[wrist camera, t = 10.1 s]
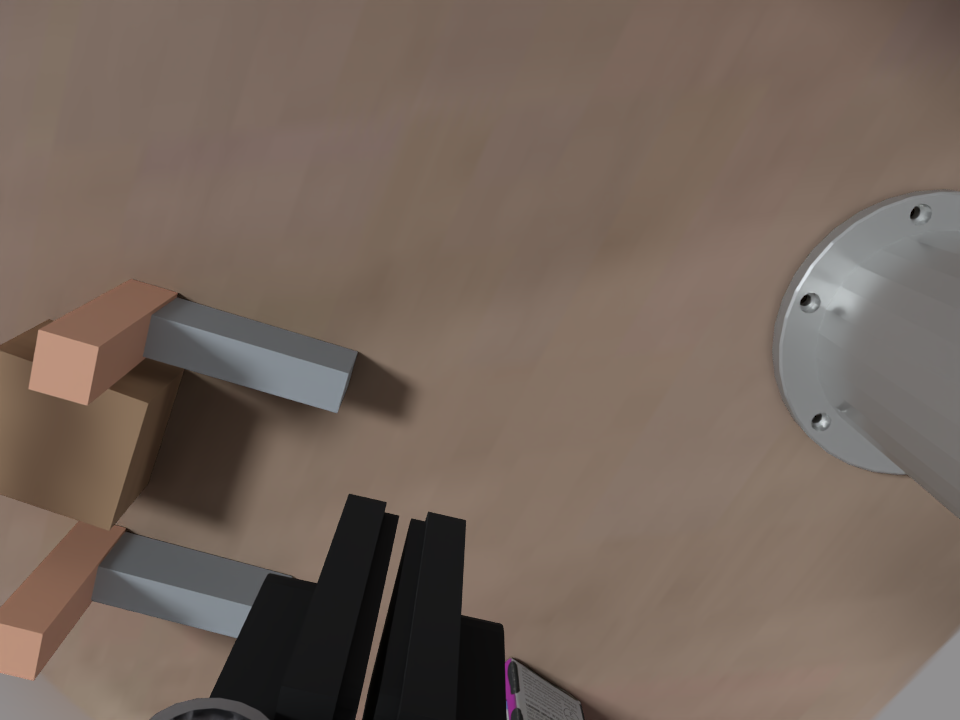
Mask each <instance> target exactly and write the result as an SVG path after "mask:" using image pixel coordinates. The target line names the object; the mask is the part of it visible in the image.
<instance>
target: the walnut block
mask: <svg viewBox="0 0 960 720" xmlns="http://www.w3.org/2000/svg"><path fill="white" fill-rule="evenodd" d="M51 322H53V321H52V320H47V321H45V322H43V323H41V324H39V325H37V326H36V327H34V328H32V329H30V330H28V331H26V332H24V333H22V334H20V335H19V336H17V337H15V338H13V339H11V340H9V341H7V342H5V343H4V344H2V345H0V495H3V496H6V497H9V498H12V499H15V500H18V501H21V502H24V503H27V504H30V505H33V506H36V507H39V508H42V509H45V510H48V511H51V512H54V513H57V514H60V515H63V516H66V517H69V518H72V519H75V520H78V521H81V522H84V523H87V524H90V525H93V526H96V527H99V528H102V529H105V530H108V531H110V530H111V528H112V527H113V526H114V525H115V523H116V522H117V521H118V520H119V519H120V517H121V516H122V515H123V514H124V513H125V511H126V510H127V509H128V508H129V506H130V505H131V504H132V503H133V502H134V500H135V499H136V498H137V497H138V496H139V494H140V493H141V492H142V491H143V489H144V488H145V487H146V486H147V485H148V483H149V480H150V477H151V474H152V470H153V467H154V464H155V461H156V458H157V455H158V451H159V448H160V445H161V442H162V439H163V435H164V432H165V429H166V426H167V423H168V420H169V416H170V413H171V410H172V407H173V404H174V401H175V397H176V394H177V391H178V388H179V385H180V382H181V378H182V375H183V372H184V368H180V367H177V366H173V365H170V364H166V363H163V362H160V361H156V360H153V359H149V358H145V359H144V360H143V361H141V362H140V363H139V364H138V365H136V366H135V367H134V368H133V369H132V370H130V371H129V372H128V373H127V374H126V375H124V376H123V377H122V378H121V379H119V380H118V381H117V382H116V383H115V384H113V385H112V386H111V387H110V388H108V389H107V390H106V391H105V392H104V393H102V394H101V395H100V396H99V397H97V398H96V399H95V400H94V401H93V402H91V403H90V404H89V405H88V406H87V405H83V404H79V403H76V402H72V401H69V400H65V399H62V398H58V397H55V396H51V395H48V394H44V393H41V392H37V391H33V390H30V389H28V388H29V382H30V376H31V371H32V365H33V359H34V353H35V347H36V341H37V336H38V330H39V329H40V328H42V327H44V326H46V325H48V324H50V323H51Z"/></svg>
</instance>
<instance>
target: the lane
mask: <svg viewBox="0 0 960 720" xmlns="http://www.w3.org/2000/svg"><path fill="white" fill-rule="evenodd" d="M177 295H178V293H176V292H173V291H170V290H167V289H163V288H160V287H157V286H153V285H150V284H147V283H143V282H140V281H137V280H133V279H130V280H128V281H126V282H125V283H123V284H121V285H119V286H117V287H115V288H114V289H112V290H110V291H108V292H106V293H104V294H103V295H101V296H99V297H97V298H95V299H93V300H92V301H90V302H88V303H86V304H84V305H82V306H81V307H79V308H77V309H75V310H73V311H72V312H70V313H68V314H66V315H64V316H62V317H61V318H59V319H57V320H55V321H53V322H51V323H50V324H48V325H46V326H44V327H42V328H40V329H39V330H38V336H37V341H36V347H35V353H34V359H33V365H32V371H31V376H30V382H29V388H28V389H30V390H33V391H37V392H41V393H44V394H48V395H51V396H55V397H58V398H62V399H65V400H69V401H72V402H76V403H79V404H83V405H87V406H88V405H89V404H90V403H91V402H93V401H94V400H95V399H96V398H97V397H99V396H100V395H101V394H102V393H104V392H105V391H106V390H107V389H108V388H110V387H111V386H112V385H113V384H115V383H116V382H117V381H118V380H119V379H121V378H122V377H123V376H124V375H126V374H127V373H128V372H129V371H130V370H132V369H133V368H134V367H135V366H136V365H138V364H139V363H140V362H141V361H143V360H144V359H145V358H149V359H153V360H156V361H160V362H163V363H166V364H170V365H173V366H177V367H180V368H184V369H187V370H191V371H194V372H197V373H201V374H204V375H208V376H211V377H215V378H218V379H221V380H225V381H228V382H232V383H235V384H239V385H242V386H245V387H249V388H252V389H256V390H259V391H263V392H266V393H270V394H273V395H276V396H280V397H283V398H287V399H290V400H294V401H297V402H300V403H304V404H307V405H311V406H314V407H318V408H321V409H325V410H328V411H331V412H335V413H337V412H338V410H339V407H340V405H341V403H342V400H343V398H344V395H345V393H346V390H347V387H348V384H349V380H350V377H351V374H352V370H353V367H354V363H355V360H356V357H357V353H358V352H357V351H354V350H351V349H347V348H344V347H341V346H337V345H334V344H331V343H328V342H324V341H321V340H318V339H314V338H311V337H308V336H304V335H301V334H298V333H294V332H291V331H288V330H284V329H281V328H278V327H274V326H271V325H268V324H264V323H261V322H258V321H254V320H251V319H248V318H244V317H241V316H238V315H234V314H231V313H228V312H224V311H221V310H218V309H214V308H211V307H208V306H204V305H201V304H198V303H194V302H191V301H188V300H184V299H181V298H178V297H177ZM125 530H126V528H124V527H120V526H117V525H114V526H113V527H112V528H111V530H110V531H108V530H105V529H102V528H99V527H96V526H93V525H90V524H87V523H84V522H81V521H79V522H78V523H77V524H76V525H75V526H74V527H73V528H72V529H71V530H70V531H69V533H68V534H67V535H66V536H65V537H64V538H63V539H62V540H61V541H60V542H59V544H58V545H57V546H56V547H55V548H54V549H53V550H52V551H51V552H50V553H49V555H48V556H47V557H46V558H45V559H44V560H43V561H42V562H41V563H40V564H39V566H38V567H37V568H36V569H35V570H34V571H33V572H32V573H31V574H30V575H29V577H28V578H27V579H26V580H25V581H24V582H23V583H22V584H21V585H20V587H19V588H18V589H17V590H16V591H15V592H14V593H13V594H12V595H11V596H10V598H9V599H8V600H7V601H6V602H5V603H4V604H3V605H2V606H1V607H0V673H4V674H8V675H12V676H16V677H20V678H24V679H28V680H33V681H34V680H35V678H36V677H37V676H38V674H39V673H40V672H41V670H42V669H43V668H44V666H45V665H46V663H47V662H48V661H49V659H50V658H51V657H52V655H53V654H54V653H55V651H56V650H57V649H58V647H59V646H60V644H61V643H62V642H63V640H64V639H65V638H66V636H67V635H68V634H69V632H70V631H71V630H72V628H73V627H74V626H75V624H76V623H77V621H78V620H79V619H80V617H81V616H82V615H83V613H84V612H85V611H86V609H87V608H88V607H89V605H90V604H91V602H92V601H94V602H98V603H102V604H106V605H110V606H114V607H118V608H122V609H125V610H129V611H133V612H137V613H141V614H145V615H149V616H153V617H157V618H161V619H164V620H168V621H172V622H176V623H180V624H184V625H188V626H192V627H196V628H200V629H203V630H207V631H211V632H215V633H219V634H223V635H227V636H231V637H235V638H237V637H238V635H239V633H240V631H241V629H242V627H243V625H244V622H245V620H246V618H247V616H248V614H249V612H250V610H251V607H252V605H253V603H254V601H255V599H256V597H257V595H258V592H259V590H260V588H261V586H262V584H263V582H264V580H265V578H266V576H267V574H269V573H272V574H277V575H281V576H286V577H290V578H292V576H290V575H286V574H282V573H278V572H275V571H271V570H267V569H263V568H260V567H256V566H252V565H248V564H245V563H241V562H237V561H233V560H230V559H226V558H222V557H218V556H215V555H211V554H207V553H203V552H200V551H196V550H192V549H188V548H185V547H181V546H177V545H173V544H170V543H166V542H162V541H158V540H155V539H151V538H147V537H143V536H140V535H136V534H132V533H129V532H125Z"/></svg>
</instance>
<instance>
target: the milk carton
mask: <svg viewBox="0 0 960 720" xmlns="http://www.w3.org/2000/svg"><path fill="white" fill-rule="evenodd" d="M505 680H506V713H507V720H585V719H584V715H583V711H582V706H581V703H580V701H578V700H577V699H576V698H574V697H573V696H572V695H570V694H569V693H567V692H566V691H564V690H563V689H561V688H559V687H557V686H555V685H553V684H551V683H550V682H548V681H546V680H545V679H543V678H542V677H540V676H539V675H538V674H536V673H535V672H533V671H532V670H530V669H529V668H527V667H526V666H524V665H522V664H520V663H519V662H517V661H516V660H514V659H513V658H510V659H508V660H507V661H506V662H505Z"/></svg>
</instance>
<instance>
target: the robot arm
mask: <svg viewBox="0 0 960 720" xmlns="http://www.w3.org/2000/svg"><path fill="white" fill-rule="evenodd" d="M913 208H915V213H914V215H913V216H912V217H910V214H911V211H912V210H913ZM806 294H807V300H806V301H805V302H804V303H802V304H800V300H801V299H802V297H803V296H804V295H806ZM772 356H773V365H774V374H775V379H776V382H777V385H778V388H779V391H780V394H781V398H782V401H783V402H784V404H785V406H786V407H787V409H788V411H789V412H790V414H791V416H792V417H793V419H794V421H795V422H796V423H797V424H798V425H799V426H800V427H801V429H802V430H803V431H804V432H805V433H806V434H807V435H808V436H809V437H810V438H811V439H812V440H813V441H814V442H816V443H817V444H818V445H819V446H820V447H821V448H823V449H824V450H825V451H826V452H827V453H829V454H831V455H832V456H834V457H836V458H838V459H840V460H842V461H843V462H845V463H847V464H849V465H852V466H855V467H858V468H862V469H865V470H868V471H872V472H877V473H886V474H896V475H904V474H907V475H909V476H910V477H911V478H912V479H913V480H914V481H916V482H917V483H918V484H919V485H920V486H921V487H923V488H924V489H925V490H926V491H927V492H928V493H930V494H931V495H932V496H933V497H934V498H935V499H937V500H938V501H939V502H940V503H941V504H942V505H944V506H945V507H946V508H947V509H948V510H949V511H951V512H952V513H953V514H954V515H955V516H956V517H958V518H959V519H960V191H954V190H946V189H942V190H928V191H915V192H911V193H908V194H904V195H900V196H896V197H892V198H888V199H886V200H883V201H881V202H879V203H877V204H875V205H873V206H870V207H868V208H866V209H864V210H862V211H860V212H858V213H857V214H855V215H854V216H852V217H851V218H849V219H848V220H846V221H845V222H843V223H842V224H841V225H839V226H838V227H836V228H835V229H834V230H833V231H831V232H830V233H829V234H828V235H827V236H826V237H825V238H824V239H823V240H822V241H821V242H820V243H819V244H818V245H817V246H816V247H815V248H814V249H813V250H812V251H811V253H810V254H809V255H808V257H807V258H806V259H805V261H804V262H803V263H802V265H801V266H800V267H799V269H798V270H797V272H796V273H795V275H794V277H793V279H792V281H791V283H790V285H789V287H788V289H787V291H786V293H785V295H784V297H783V299H782V302H781V305H780V309H779V312H778V315H777V319H776V322H775V326H774V337H773V348H772ZM817 414H818V416H817V417H816V418H815V419H813V418H814V416H815V415H817ZM812 419H813V420H812ZM386 503H387V502H383V501H379V500H374V499H370V498H366V497H361V496H357V495H352V494H349V495H348V498H347V501H346V504H345V506H344V509H343V512H342V515H341V518H340V521H339V523H338V526H337V529H336V532H335V535H334V538H333V540H332V543H331V546H330V549H329V552H328V555H327V557H326V560H325V563H324V566H323V569H322V572H321V574H320V577H319V580H318V583H313V582H309V581H304V580H299V579H295V578H290V577H286V576H281V575H277V574H272V573H269V574H267V576H266V578H265V580H264V582H263V584H262V586H261V588H260V590H259V592H258V595H257V597H256V599H255V601H254V603H253V605H252V607H251V610H250V612H249V614H248V616H247V618H246V620H245V622H244V625H243V627H242V629H241V631H240V633H239V635H238V637H237V640H236V642H235V644H234V646H233V648H232V650H231V652H230V655H229V657H228V659H227V661H226V663H225V665H224V667H223V670H222V672H221V674H220V676H219V678H218V680H217V682H216V685H215V687H214V689H213V691H212V693H211V695H210V697H209V698H197V699H193V700H188V701H184V702H180V703H176V704H174V705H172V706H170V707H168V708H166V709H164V710H162V711H160V712H158V713H156V714H155V715H154V716H153V717H152V718H151V719H150V720H355V718H356V714H357V709H358V705H359V701H360V696H361V692H362V688H363V683H364V678H365V674H366V669H367V664H368V660H369V655H370V650H371V646H372V641H373V636H374V632H375V627H376V622H377V617H378V613H379V608H380V603H381V599H382V594H383V589H384V585H385V580H386V575H387V571H388V566H389V561H390V557H391V552H392V547H393V543H394V538H395V533H396V529H397V524H398V519H399V515H394V514H390V513H385V508H386ZM465 531H466V520H463V519H458V518H454V517H449V516H445V515H441V514H436V513H432V512H428V514H427V517H426V521H421V520H416V519H412V518H411V521H410V525H409V528H408V532H407V536H406V540H405V544H404V549H403V553H402V557H401V561H400V565H399V569H398V573H397V577H396V581H395V585H394V589H393V593H392V597H391V601H390V605H389V609H388V613H387V617H386V621H385V625H384V629H383V633H382V637H381V641H380V645H379V649H378V653H377V657H376V661H375V665H374V669H373V673H372V677H371V681H370V685H369V690H368V694H367V699H366V703H365V708H364V713H363V718H362V720H507V713H506V680H505V647H504V628H503V625H502V624H500V623H495V622H491V621H486V620H482V619H477V618H473V617H468V616H464V615H461V607H462V588H463V569H464V550H465Z"/></svg>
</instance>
